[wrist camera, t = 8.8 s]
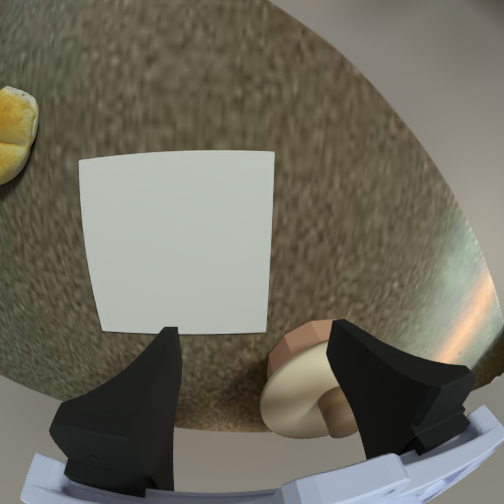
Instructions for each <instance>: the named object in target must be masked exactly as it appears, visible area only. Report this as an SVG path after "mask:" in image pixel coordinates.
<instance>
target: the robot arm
mask: <svg viewBox="0 0 504 504" xmlns="http://www.w3.org/2000/svg"><path fill="white" fill-rule="evenodd" d="M326 356H327V359H328V362H329V365H330V368H331V370H332V372H333V374H334V376H335V378H336V380H337V382H338V384H339V386H340V388H341V390H342V391H343V393H344V395H345V397H346V399H347V401H348V403H349V405H350V407H351V409H352V412H353V415H354V418H355V420H356V423H357V426H358V429H359V432H360V436H361V439H362V443H363V447H364V450H365V454H366V459H367V460H365V461H362V462H359V463H355V464H352V465H348V466H345V467H341V468H337V469H333V470H329V471H325V472H320V473H316V474H311V475H308V476H304V477H301V478H297V479H294V480H292V481H290V482H288V483H285V484H283V485H282V486H281V487H280V488H277V489H269V490H259V491H248V492H231V493H194V492H175V491H174V478H173V432H174V419H175V413H176V407H177V401H178V396H179V390H180V384H181V377H182V355H181V348H180V341H179V333H178V327H164V328H163V329H162V330H161V331H160V332H159V333H158V335H157V336H156V337H155V338H154V340H153V341H152V342H151V343H150V344H149V345H148V347H147V348H146V349H145V350H144V351H143V352H142V353H141V354H140V355H139V356H138V357H137V358H136V359H135V360H134V361H133V362H132V363H131V364H130V365H129V366H128V367H127V368H126V369H124V370H123V371H122V372H121V373H119V374H118V375H117V376H115V377H114V378H112V379H111V380H109V381H108V382H106V383H105V384H103V385H101V386H100V387H98V388H96V389H94V390H92V391H90V392H88V393H86V394H84V395H82V396H79V397H77V398H74V399H71V400H68V401H66V402H63V403H61V405H60V407H59V408H58V410H57V413H56V415H55V417H54V419H53V422H52V424H51V427H50V429H49V431H50V435H51V437H52V438H53V440H54V442H55V443H56V444H57V445H58V447H59V448H60V449H61V450H62V452H63V453H64V454H65V455H66V456H67V457H68V459H67V460H66V461H65V463H63V462H61V461H59V460H57V459H54V458H51V457H48V456H45V455H43V454H40V453H35V456H34V458H33V461H32V464H31V467H30V469H29V472H28V475H27V477H26V481H25V483H24V487H23V490H22V493H21V496H20V499H21V500H22V501H23V502H24V503H26V504H424V503H426V502H427V501H429V500H431V499H432V498H434V497H436V496H437V495H439V494H440V493H442V492H444V491H445V490H447V489H448V488H450V487H451V486H453V485H454V484H455V483H457V482H458V481H460V480H461V479H462V478H464V477H465V476H467V475H468V474H469V473H471V472H472V471H473V470H475V469H476V468H477V467H478V466H480V465H481V464H482V463H483V462H484V461H485V460H486V459H487V458H488V457H489V456H490V455H491V454H492V453H493V452H494V451H495V450H496V449H497V447H498V446H499V445H500V444H501V443H502V442H503V441H504V428H503V426H502V425H501V424H500V423H499V421H498V420H497V419H496V418H495V417H494V416H493V414H492V413H491V412H490V411H489V410H488V409H487V407H486V406H485V405H482V406H480V407H479V408H477V409H476V410H474V411H472V412H471V413H470V414H468V415H467V417H466V416H465V415H464V414H463V412H464V411H465V408H464V407H463V406H462V404H463V403H464V401H465V400H466V398H467V396H468V395H469V393H470V392H471V390H472V388H473V386H474V383H475V375H474V374H473V372H472V371H471V370H470V369H469V368H468V367H467V366H464V365H453V364H445V363H440V362H435V361H431V360H427V359H423V358H420V357H417V356H414V355H411V354H408V353H406V352H403V351H401V350H399V349H397V348H394V347H392V346H390V345H388V344H386V343H385V342H383V341H381V340H379V339H377V338H376V337H374V336H372V335H370V334H369V333H367V332H365V331H364V330H362V329H361V328H359V327H357V326H356V325H354V324H352V323H351V322H349V321H347V320H345V319H340V320H333V321H332V326H331V331H330V336H329V341H328V345H327V350H326Z"/></svg>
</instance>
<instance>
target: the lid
mask: <svg viewBox="0 0 504 504" xmlns="http://www.w3.org/2000/svg"><path fill="white" fill-rule="evenodd" d="M372 336H373V335H372ZM374 337H376V336H374ZM376 338H377V339H379V340H381V341H383V342H385V341H384V340H383V339H381V338H379V337H376ZM328 341H329V339H328V340H325V341H322V342H320V343H317V344H315V345H313V346H311V347H309V348H307V349H305V350H303V351H301V352H300V353H298V354H297V355H295V356H293V357H292V358H291V359H289V360H288V361H287V362H285V363H284V364H283V365H282V366H281V367H280V368H279V369H278V370H277V371H276V372H275V373H274V374H273V375H272V376H271V377H270V379H269V380H268V382H267V383H266V385H265V387H264V389H263V391H262V394H261V397H260V410H261V415H262V419H263V421H264V423H265V424H266V426H267V427H268V428H269V429H270V430H272V431H273V432H275V433H276V434H279V435H281V436H284V437H288V438H294V439H311V438H319V437H323V436H327V435H330V436H331V437H333V438H343V437H347V436H349V435H352V434H354V433H356V432H357V431H359V429H358V426H357V423H356V420H355V418H354V415H353V412H352V409H351V407H350V405H349V403H348V401H347V399H346V397H345V395H344V393H343V391H342V390H341V388H340V386H339V384H338V382H337V380H336V378H335V376H334V374H333V372H332V370H331V368H330V365H329V362H328V359H327V356H326V350H327V345H328ZM385 343H386V342H385ZM386 344H388V343H386ZM388 345H389V344H388Z"/></svg>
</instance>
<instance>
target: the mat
mask: <svg viewBox="0 0 504 504" xmlns="http://www.w3.org/2000/svg"><path fill="white" fill-rule="evenodd" d="M274 153H275V152H266V151H229V150H210V151H173V152H155V153H140V154H129V155H118V156H109V157H100V158H93V159H85V160H79V183H80V200H81V213H82V223H83V232H84V240H85V248H86V254H87V261H88V267H89V272H90V278H91V283H92V288H93V293H94V297H95V302H96V306H97V310H98V314H99V318H100V322H101V326H102V330H103V331H112V332H129V333H153V334H158V333H159V332H160V331H161V330H162V329H163V328H164V327H178V333H179V334H232V333H257V332H266V323H267V306H268V289H269V271H270V251H271V230H272V207H273V182H274Z"/></svg>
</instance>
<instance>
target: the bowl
mask: <svg viewBox="0 0 504 504" xmlns="http://www.w3.org/2000/svg"><path fill="white" fill-rule="evenodd" d="M333 320H338V319H329V320H319V321H309V322H308V323H306V324H304V325H302V326H300V327H298V328H297V329H295V330H293V331H291V332H289V333H287V334H285V335H284V336H283V337H282V339H281V340H280V341H279V342H278V344H277V345H276V346H275V348H274V349H273V350H272V351H271V353H270V354H269V355H268V367H267V377H268V380H269V379H270V377H271V376H272V375H273V374H274V373H275V372H276V371H277V370H278V369H279V368H280V367H281V366H282V365H283V364H284V363H285V362H287V361H288V360H289V359H291V358H292V357H293V356H295V355H297V354H298V353H300V352H301V351H303V350H305V349H307V348H309V347H311V346H313V345H315V344H317V343H320V342H322V341H325V340H328V339H329V336H330V331H331V326H332V321H333Z"/></svg>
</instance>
